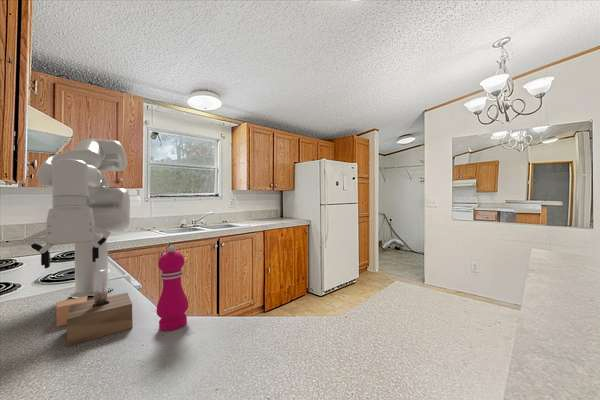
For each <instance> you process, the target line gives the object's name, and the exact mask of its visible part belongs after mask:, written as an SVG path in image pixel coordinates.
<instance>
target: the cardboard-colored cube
mask: <svg viewBox="0 0 600 400" xmlns="http://www.w3.org/2000/svg"><path fill="white" fill-rule="evenodd" d="M85 301H88V297H87V296H84V297H79V298H74V299H73V298H70V299H65V300H59V301H58V303H57V305H56V308H55V309H56V310H55V311H56V327H62V326H65V325H66V326H67V316H68V313H69V309H70V305H71V304H75V303H80V302H85Z"/></svg>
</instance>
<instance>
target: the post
mask: <svg viewBox="0 0 600 400" xmlns="http://www.w3.org/2000/svg"><path fill="white" fill-rule="evenodd" d="M107 297H108V292H107V269H102V270H96V271H94V296H93V300H94V307H98V306H102V305H107V304H108V302H107Z"/></svg>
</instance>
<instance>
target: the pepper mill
mask: <svg viewBox="0 0 600 400" xmlns="http://www.w3.org/2000/svg"><path fill="white" fill-rule="evenodd" d="M166 250H167V252H165V253H163V254H162V255H161V256H160V257H159V259H158V261H157V267H158V269H159V270H160V271H161V272H160V279H161V280H162V291H161V294H160V296H159V299H158V302H157V305H156V311H155V312H156V315H157V316H158V317H159V320H158V328H159V330H160V331H163V332H164V331H165V332H169V331H175V330H178V329H180V328H183V327H184V326H185V325H186V324H187V323H188V317H187V314H186V312H187V311H188V309H189V300H188V297H187V296H186V294H185V292H184V289H183V286H182V285H183V284H182V276H183V274H184V273H183V272H184V271H183V269H182V268H183V267H184V265H185V257H184V255H183V254H182V253H181V252H178V251H175V250H176V247H175V246H174V245H170V246H168V247H167V248H166Z"/></svg>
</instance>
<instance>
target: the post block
mask: <svg viewBox="0 0 600 400" xmlns="http://www.w3.org/2000/svg"><path fill="white" fill-rule="evenodd" d="M107 302H108V304H107V305H102V306H98V307H94V299H90V300H87V301H85V302H80V303H75V304H71V305H70V309H69V313H68V316H67V324H66V347H70V346H75V345H77V344H81V343H84V342H88V341H91V340H96V339H99V338H102V337H105V336H110V335H112V334H116V333H120V332H123V331H126V330H130V329H133V325H134V324H133V302H132V300H131V298H130V296H129V293H128V292H124V293H123V292H122V293H119V294H115V295H110V296H109V295H107Z"/></svg>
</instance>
